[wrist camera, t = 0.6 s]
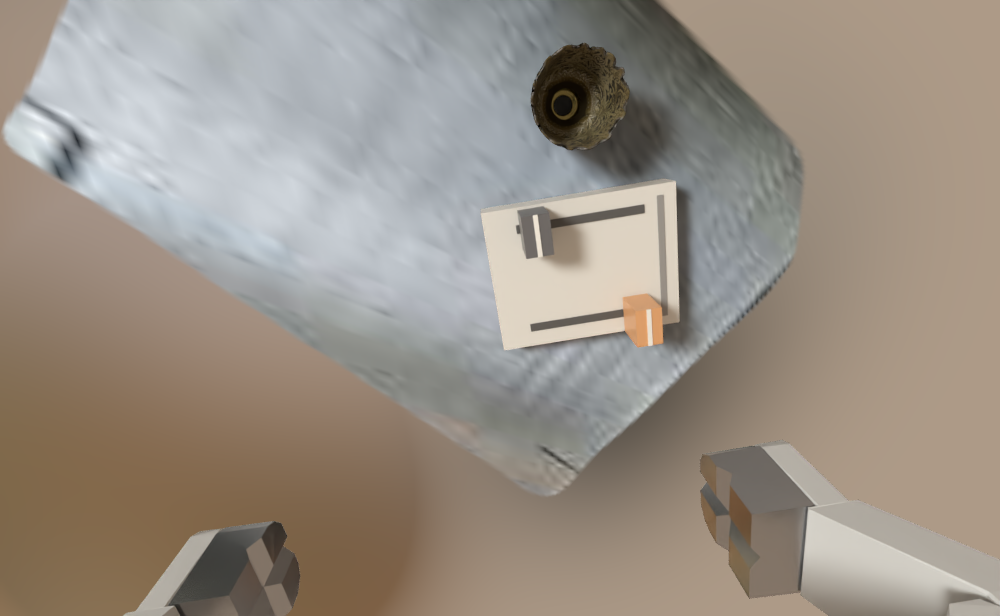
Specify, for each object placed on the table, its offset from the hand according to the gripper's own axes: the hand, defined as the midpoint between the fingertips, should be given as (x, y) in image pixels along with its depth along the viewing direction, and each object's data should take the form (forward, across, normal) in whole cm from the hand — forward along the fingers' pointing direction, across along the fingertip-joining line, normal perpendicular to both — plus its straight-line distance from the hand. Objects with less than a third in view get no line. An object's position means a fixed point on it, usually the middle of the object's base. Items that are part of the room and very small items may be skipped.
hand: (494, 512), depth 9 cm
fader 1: (+35, -4, +1) cm, 36 cm away
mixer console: (+39, -9, +6) cm, 40 cm away
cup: (+39, -9, -9) cm, 41 cm away
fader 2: (+36, -13, +11) cm, 40 cm away
